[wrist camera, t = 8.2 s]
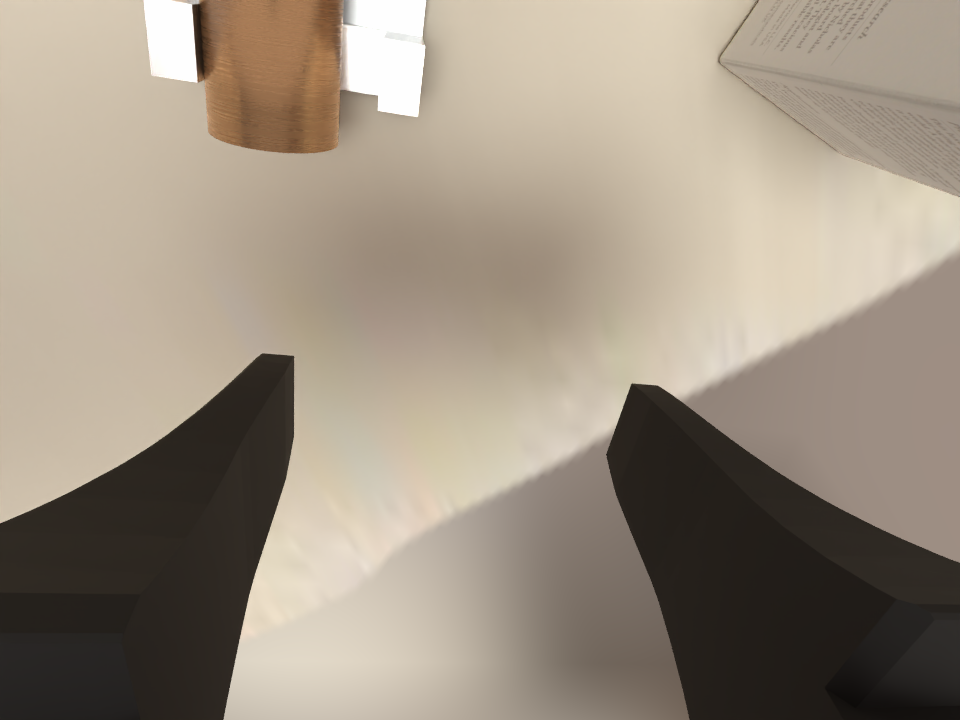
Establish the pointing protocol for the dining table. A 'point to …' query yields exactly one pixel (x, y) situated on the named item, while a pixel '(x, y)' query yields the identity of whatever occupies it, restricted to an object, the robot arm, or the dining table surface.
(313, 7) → the tube
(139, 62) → the dining table surface
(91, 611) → the robot arm
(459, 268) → the dining table surface
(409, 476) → the dining table surface
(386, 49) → the cradle
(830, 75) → the skincare box
